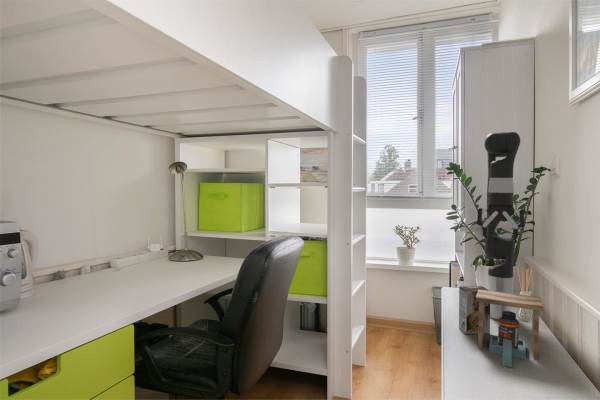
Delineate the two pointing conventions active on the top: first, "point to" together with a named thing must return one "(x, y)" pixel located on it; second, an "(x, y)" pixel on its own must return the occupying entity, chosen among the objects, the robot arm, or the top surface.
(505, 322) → the supplement bottle
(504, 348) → the dustpan
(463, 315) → the coffee box
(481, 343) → the wooden bridge stand
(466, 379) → the top surface
